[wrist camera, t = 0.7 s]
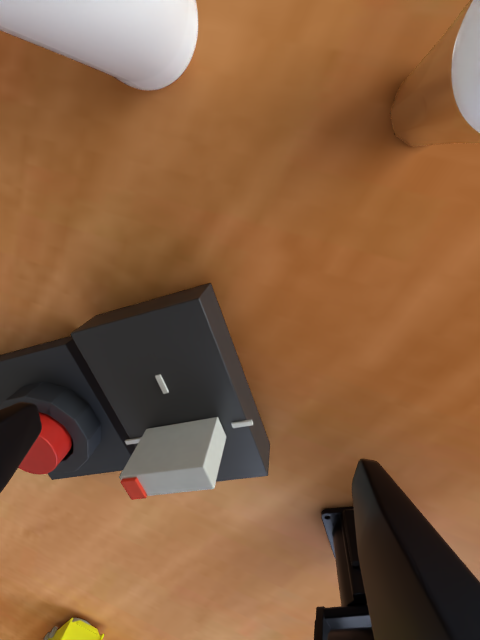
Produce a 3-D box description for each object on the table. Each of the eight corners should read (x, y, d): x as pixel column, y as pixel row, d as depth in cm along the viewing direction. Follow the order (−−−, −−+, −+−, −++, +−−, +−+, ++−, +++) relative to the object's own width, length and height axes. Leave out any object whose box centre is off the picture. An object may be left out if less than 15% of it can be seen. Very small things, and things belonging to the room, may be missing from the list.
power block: (146, 452, 27) (127, 487, 24) (64, 464, 30) (37, 498, 26) (79, 333, 23) (47, 357, 20) (-10, 357, 25) (-53, 382, 22)
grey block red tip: (218, 416, 21) (202, 470, 17) (226, 436, 21) (213, 493, 17) (146, 428, 22) (116, 480, 18) (156, 447, 23) (129, 501, 19)
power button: (82, 451, 24) (68, 471, 22) (37, 459, 25) (20, 477, 23) (53, 406, 22) (35, 423, 21) (6, 416, 23) (-15, 433, 22)
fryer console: (274, 443, 25) (273, 477, 22) (167, 458, 27) (153, 490, 24) (215, 281, 20) (204, 297, 17) (91, 316, 22) (63, 336, 20)
